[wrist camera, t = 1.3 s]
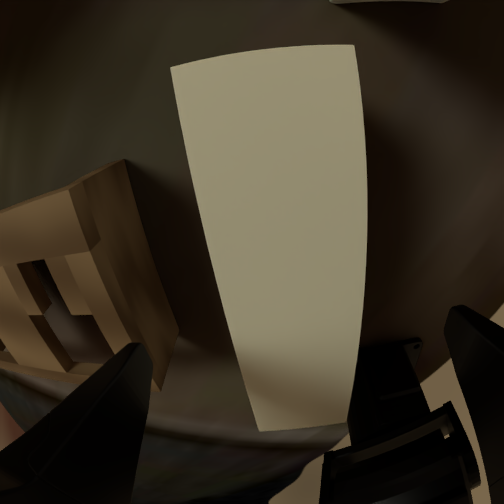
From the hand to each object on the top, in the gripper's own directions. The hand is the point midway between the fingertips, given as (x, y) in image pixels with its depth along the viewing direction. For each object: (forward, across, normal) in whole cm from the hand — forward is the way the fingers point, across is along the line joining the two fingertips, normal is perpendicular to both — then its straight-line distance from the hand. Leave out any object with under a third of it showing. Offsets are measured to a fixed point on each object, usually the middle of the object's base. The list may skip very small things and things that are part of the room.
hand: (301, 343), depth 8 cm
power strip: (+8, 0, 0) cm, 8 cm away
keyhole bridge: (+8, +16, +1) cm, 18 cm away
